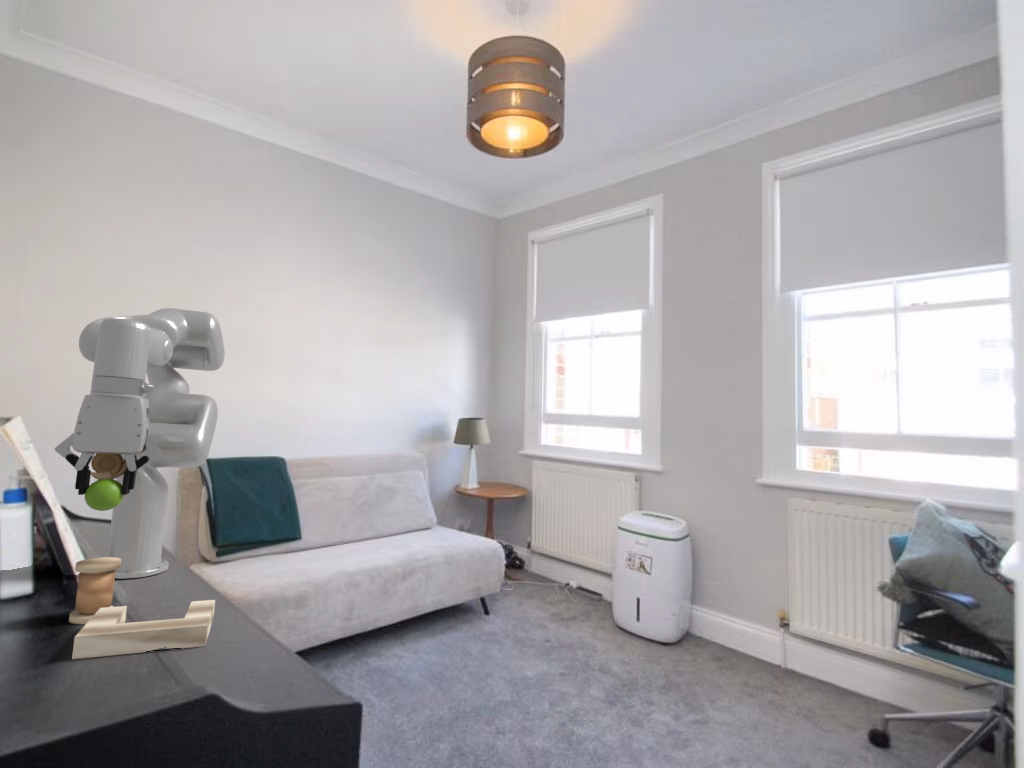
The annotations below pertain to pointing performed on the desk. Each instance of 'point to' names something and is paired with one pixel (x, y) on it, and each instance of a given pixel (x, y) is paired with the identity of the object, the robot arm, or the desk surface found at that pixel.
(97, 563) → the bobbin
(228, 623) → the desk surface
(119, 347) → the robot arm
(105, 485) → the snail figurine
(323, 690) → the desk surface
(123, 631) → the notched board
